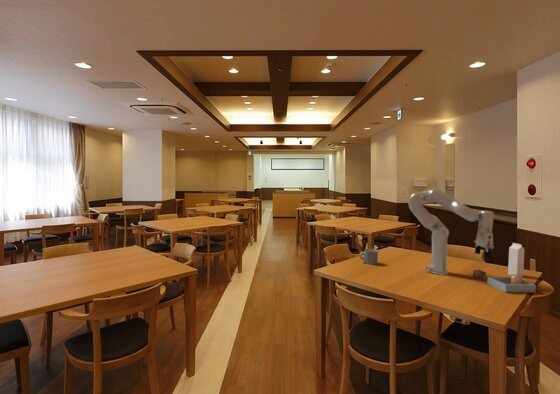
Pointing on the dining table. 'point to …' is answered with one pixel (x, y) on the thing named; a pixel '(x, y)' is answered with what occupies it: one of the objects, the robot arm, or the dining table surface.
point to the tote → (511, 285)
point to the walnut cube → (479, 274)
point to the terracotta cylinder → (515, 279)
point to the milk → (516, 259)
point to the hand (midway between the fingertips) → (482, 255)
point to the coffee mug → (370, 256)
